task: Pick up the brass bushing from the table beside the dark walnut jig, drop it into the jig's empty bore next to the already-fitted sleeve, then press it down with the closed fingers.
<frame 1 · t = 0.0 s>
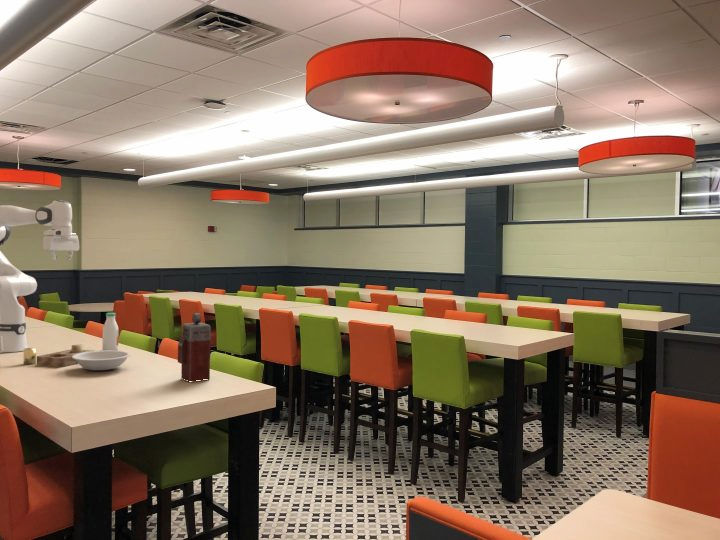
hand: (61, 259, 283), 48 cm above the table, fingers open, 8 cm apart
bushing: (29, 363, 260), on the table
soup bowl: (101, 370, 252), on the table
jig: (67, 361, 267), on the table
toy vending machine: (192, 380, 236), on the table
milk bottle: (110, 350, 300), on the table
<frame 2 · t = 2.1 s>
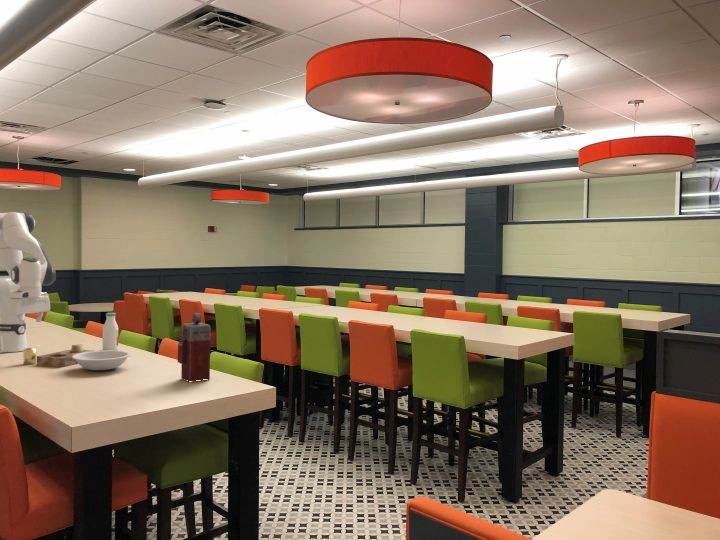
hand: (30, 323, 260), 19 cm above the table, fingers open, 8 cm apart
nothing on the table moved.
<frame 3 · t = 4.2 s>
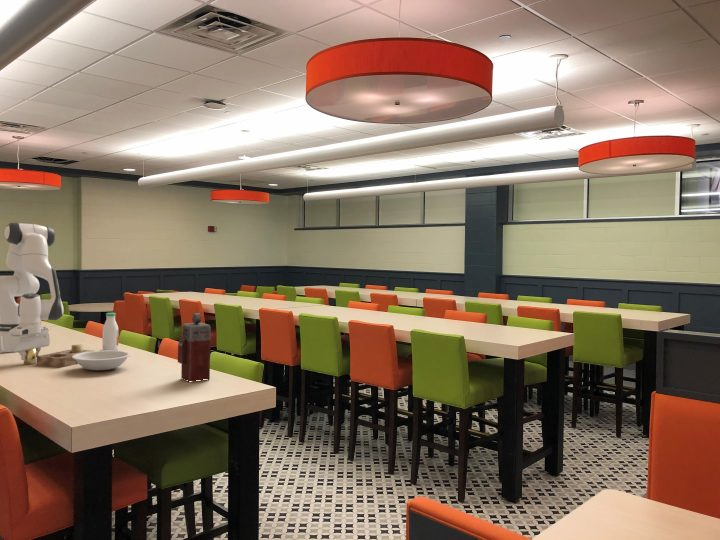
hand: (29, 358, 260), 2 cm above the table, fingers closed on bushing, 5 cm apart
bushing: (29, 363, 260), on the table, touching gripper
everything else where it was.
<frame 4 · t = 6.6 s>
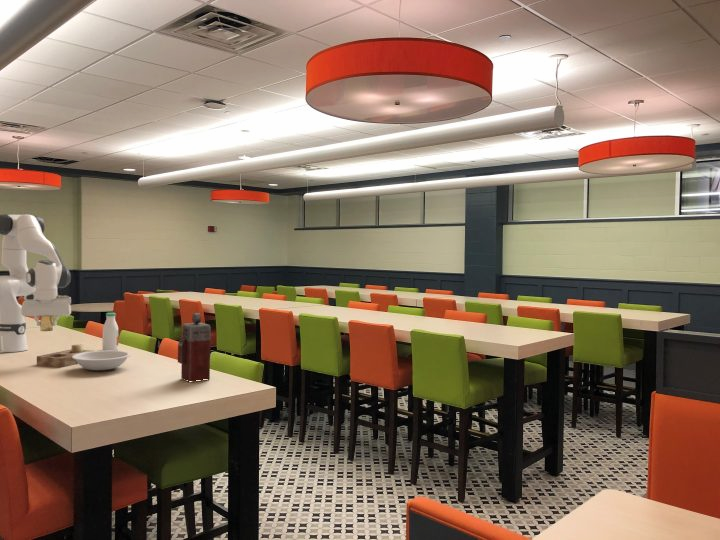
hand: (46, 325, 259), 18 cm above the table, fingers closed on bushing, 5 cm apart
bushing: (46, 330, 259), point 16 cm above the table, touching gripper
everything else where it was.
when the fingers open (5 cm above the table, at t = 9.0 s): bushing drops 3 cm, resting in jig.
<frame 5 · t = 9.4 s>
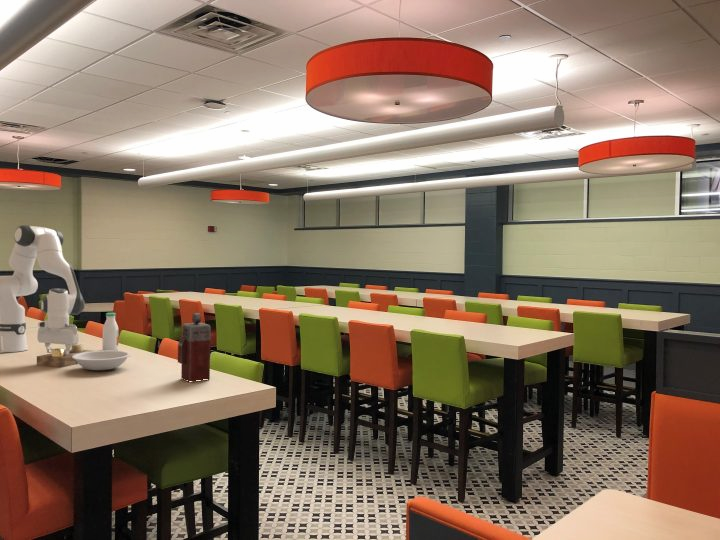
hand: (57, 353, 261), 5 cm above the table, fingers open, 8 cm apart
bushing: (57, 364, 261), resting in jig
everything else where it was.
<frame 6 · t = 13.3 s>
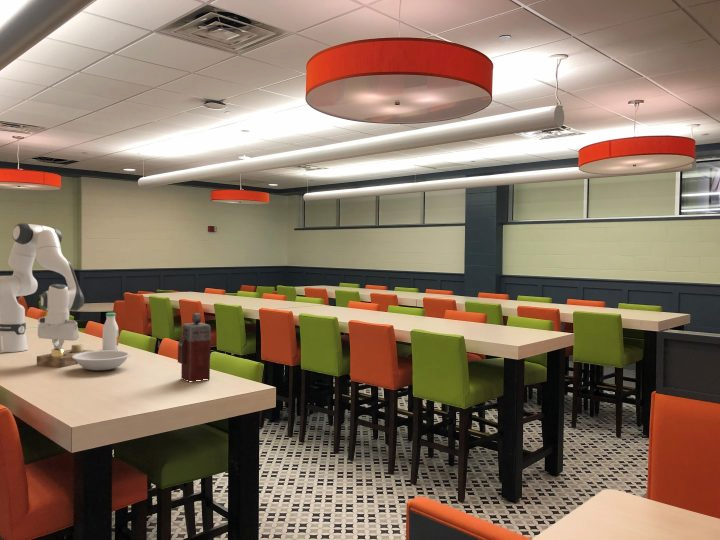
hand: (58, 349, 261), 7 cm above the table, fingers closed, pressing on bushing
bushing: (57, 364, 261), resting in jig, touching gripper
everything else where it was.
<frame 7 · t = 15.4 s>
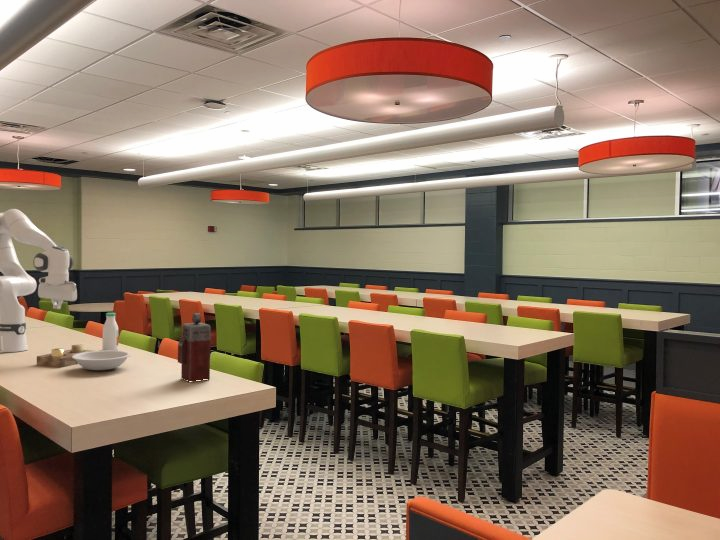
hand: (56, 308, 272), 25 cm above the table, fingers closed
bushing: (57, 364, 261), resting in jig
everything else where it was.
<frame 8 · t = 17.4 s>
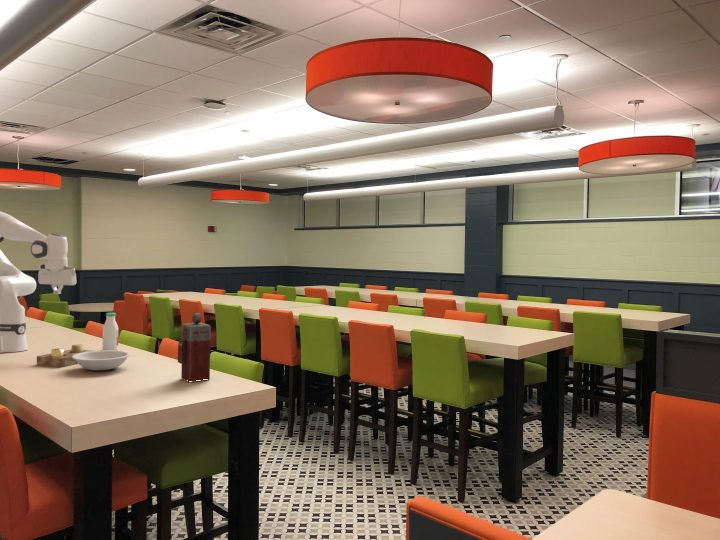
hand: (57, 293, 280), 31 cm above the table, fingers closed
nothing on the table moved.
at the end: bushing 0.2 cm from the target spot on the jig, point 0.0 cm above the jig's base; bushing tilted 0°; the gripper is holding nothing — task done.
